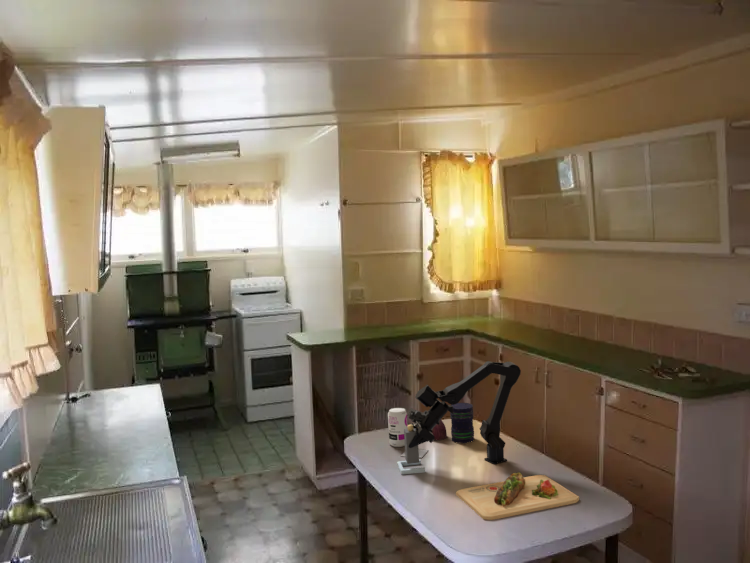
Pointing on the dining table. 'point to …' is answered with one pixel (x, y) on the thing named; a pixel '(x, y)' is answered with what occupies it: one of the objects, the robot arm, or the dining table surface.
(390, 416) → the supplement can
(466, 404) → the storage jar
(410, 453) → the plug block
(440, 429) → the vegetable
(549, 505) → the cutting board
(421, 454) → the grey pad
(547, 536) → the dining table surface
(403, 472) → the blue bay
